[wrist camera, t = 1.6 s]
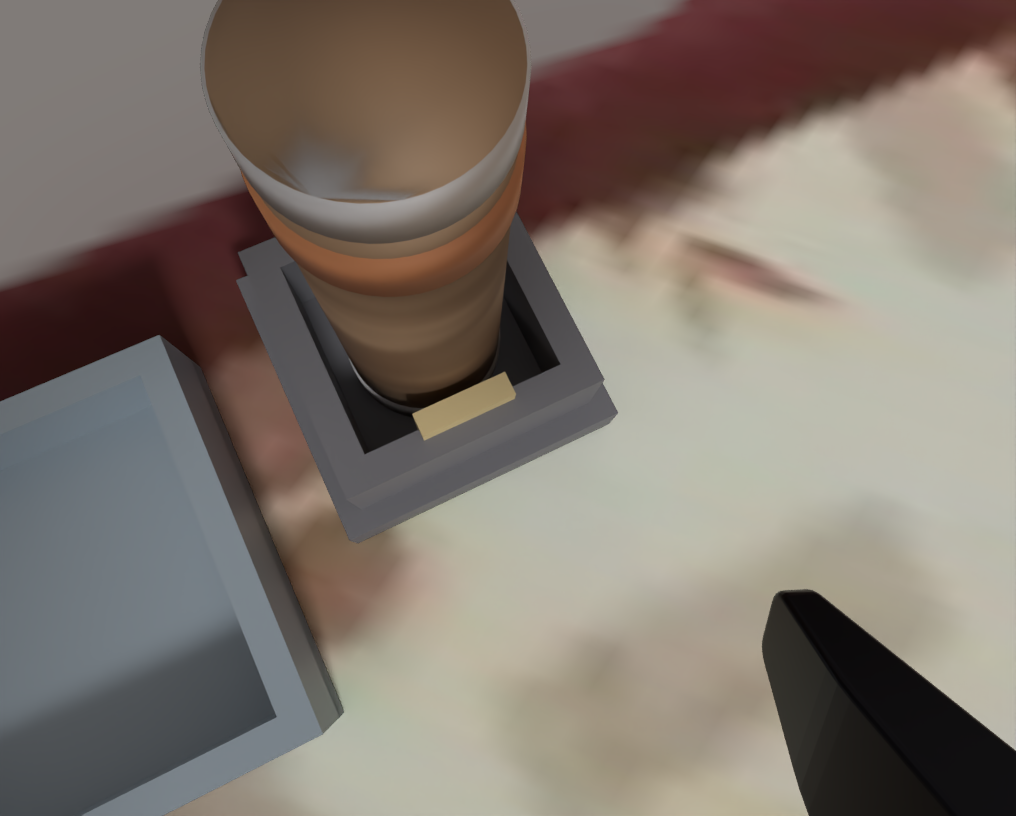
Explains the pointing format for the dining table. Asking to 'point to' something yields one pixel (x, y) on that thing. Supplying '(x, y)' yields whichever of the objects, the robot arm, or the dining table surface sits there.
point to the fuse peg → (383, 169)
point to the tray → (140, 599)
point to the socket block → (442, 426)
